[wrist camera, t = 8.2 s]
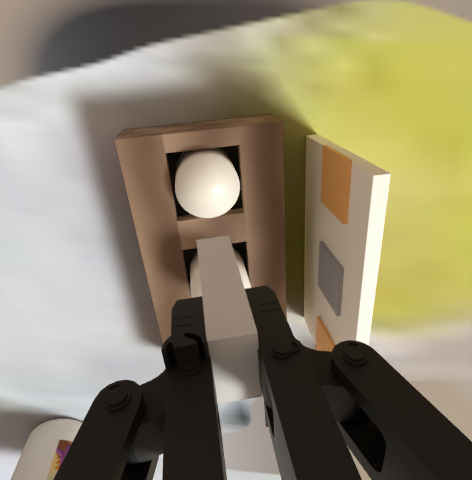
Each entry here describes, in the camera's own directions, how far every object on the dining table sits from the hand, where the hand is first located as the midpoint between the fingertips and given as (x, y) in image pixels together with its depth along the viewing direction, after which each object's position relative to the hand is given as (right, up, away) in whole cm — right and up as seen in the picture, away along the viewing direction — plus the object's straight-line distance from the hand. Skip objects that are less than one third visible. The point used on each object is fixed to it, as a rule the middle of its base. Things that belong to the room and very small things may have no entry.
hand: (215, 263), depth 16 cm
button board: (-1, 0, +17) cm, 17 cm away
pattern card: (+8, +1, +18) cm, 20 cm away
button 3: (-2, +7, +13) cm, 15 cm away
